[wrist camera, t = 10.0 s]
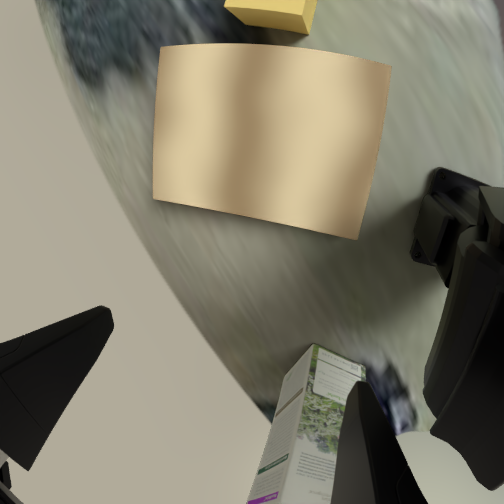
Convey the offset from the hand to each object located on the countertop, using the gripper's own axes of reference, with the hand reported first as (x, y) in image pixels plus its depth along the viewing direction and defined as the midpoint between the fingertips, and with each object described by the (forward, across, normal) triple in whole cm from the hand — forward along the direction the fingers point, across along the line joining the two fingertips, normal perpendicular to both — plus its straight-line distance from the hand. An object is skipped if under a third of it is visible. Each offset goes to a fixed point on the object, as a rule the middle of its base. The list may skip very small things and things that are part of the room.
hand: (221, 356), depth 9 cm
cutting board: (+12, +2, -6) cm, 14 cm away
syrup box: (+12, -6, +13) cm, 19 cm away
